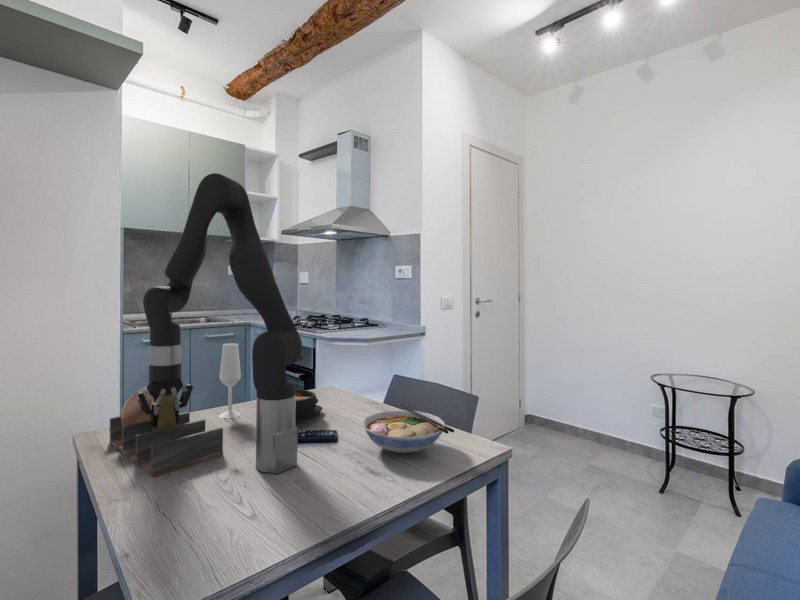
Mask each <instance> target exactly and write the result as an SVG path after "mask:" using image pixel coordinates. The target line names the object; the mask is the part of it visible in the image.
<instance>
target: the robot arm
mask: <svg viewBox="0 0 800 600" xmlns="http://www.w3.org/2000/svg"><path fill="white" fill-rule="evenodd" d="M217 213H218V214H221V215H222V217H223V218H224V220H225V223H226V226H227V228H228V230H229V233H230V237H231V238H230V240H231V241H230V247H229V248H230V249H229V253H228V255H229V257H228V261H229V266H230V270H231V273H232V275H233V279H234V281H235V284H236V287H237V288H238V290H239V292H240V293H241V294H242V295H243V297H245V299H246V300H247V301H248V302H249V304H251V305H252V307H253V308H254V309H255V310H256V311H257V312H258V314H259V316H261V318H262V320H263V322H264V325H265V328H266V331H263V332H261V333H259V334H258V335H257V336H256V338H255V339H254V341H253V344H252V351H251V352H252V354H251V357H252V359H251V361H252V362H251V365H252V380H253V386H254V388H255V390H256V409H255V413H256V415H255V416H256V417H255V419H256V420H255V468H256V470H257V471H259V472H262V473H269V474H276V475H277V474H279V473H282V472H284V471H287V470H290V469H292V468H295V467H297V466H298V434H299V433H298V431H299V430H298V427H296V425H295V415H296V390H297V385H296V383H295V382H294V381H292V380H289V379H287V371H286V367H287V366H291V365H293V364H296V363H297V362H299V360H300V359H301V357H302V355H303V349H304V348H303V341H302V338H301V336H300V334H299V331H298V329H297V328H296V326H295V323H294V321H293V320H292V317H291V316H290V313H289V311H288V310H287V307H286V305H285V302H284V299H283V297H282V294H281V292H280V289H279V287H278V284H277V281H276V279H275V276H274V273H273V270H272V266H271V264H270V261H269V258H268V255H267V254H266V251H265V249H264V246H263V243H262V239H261V237H260V235H259V232H258V230H257V229H258V228H257V227H256V223H255V220H254V216H253V211H252V207H251V202H250V200H249V196H248V193H247V191H246V189H245V187H244V186H243V185H242V184H240V183H239V182H237V181H236V180H233V179H231V178H230V177H227V176H225V175H224V174H221V173H217V172H211V173H208V174H206V175H205V176H204V177H203V178H202V179H201V180H200V183H199V184H198V186H197V189H196V192H195V193H194V197H193V200H192V203H191V206H190V209H189V212H188V216H187V219H186V222H185V224H184V228H183V231H182V234H181V236H180V239H179V241H178V244H177V246H176V248H175V250H174V251H173V253H172V254H171V257H170V258H169V261H168V263H167V265H166V267H165V269H164V274H165V277H166V278H168V279H169V283H168V285H166V286H165V285H164V286H163V285H162V286H160V285H159V286H157V285H156V286H155V285H154V286H152V287H150V288H149V289H147V290H146V292H145V294H144V296H143V301H142V302H143V303H142V305H143V310H144V314H145V318H146V320H147V324H148V327H149V328H148V329H149V332H150V333H149V351H148V360H147V362H148V385H147V386H146V387H147V389H146V390H143V391H141V392H137V391H135V392H136V393H135V392H134V393H135V396H136V398H137V400H138V403H139V405H140V407H141V409H142V412H144V413H146V414H150V415H151V423H150V424H151V426H152V427H156V428H157V424H158V417H159V415H157V414H158V413H159V409H160V407H159V406H160V402H159V401H160V400H161V399H162V397H164V395H167V394H171V395H173V396H174V395H175V396H174V397H175V398H176V399H175V404H174V411H175V418H176V424H177V422H178V421H179V414H180V410H181V409H183V408H186V406H187V405H188V403H189V399H190V397H191V394H192V392H193V389H194V385H192V384H189V383H183V381H182V366H183V365H182V361H183V360H182V346H181V344H182V343H181V342H182V341H181V336H182V335H181V334H182V332H181V331H182V330H181V325H180V324H179V323H178V322H175V321H172V318H171V313H177V312H179V311H181V310H183V308H185V306H186V305H187V303H188V301H189V299H190V296H191V293H192V292H191V291H192V288H193V287H192V286H193V282H194V279H195V277H196V276H197V274H198V271H199V270H200V268H201V266H202V264H203V262H204V261H205V260H204V259H205V257H206V253H207V235H208V230H209V226H210V224H211V221H212V220H213V219H214V217H215V216H216V214H217ZM180 391H182V392H181V395H180V398H179V397H178V394H179V392H180ZM148 393H149V394H150V395H151V396H152V397H153V398H152V402H151V404H152V405H151V409H150V408H149V405H148V403H147V401H146V399H147V397H148V396H147V395H148ZM154 399H156V400H157V402H154Z"/></svg>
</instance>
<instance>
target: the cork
mask: <svg viewBox="0 0 800 600" xmlns="http://www.w3.org/2000/svg"><path fill="white" fill-rule="evenodd" d="M174 396H175V395H174ZM174 396H173V395H171V394H167V395H164V397H162V399H161V400H160V401H159V402H160V406H159V407H160V409H159V413H158V414H157V415H159V417H158V424H157V428H156V427H153V430H152V431H155V430H159V429H164V428H168V427H172V426H176V425H177V424H176V418H175V411H174V404H175V399H176V398H175V397H174ZM154 402H157V400H156V399H154Z"/></svg>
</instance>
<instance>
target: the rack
mask: <svg viewBox="0 0 800 600" xmlns="http://www.w3.org/2000/svg"><path fill="white" fill-rule="evenodd" d="M146 389H147V386H146V387H143V388H141V389H139V390H137V391H135V392H133V394H131V395H130V396H129V398H128V399H126V401H125V403H124V404H123V407H122V410H121V413H120V415H119V416H113V417H110V418H109V444H110V443H111V444H112V445H113V447H114V448H115V449H116V448H117V449H116V450H117V451H119V452H120V451H121V452H122V455H124V456H125V457H127V458H128V459H129V460H130V459H131V462H133V463H134V464H136V465H137V466H138V467H139V468H141V469H142V470H143V471H145V472H146V473H147V474H148V475H149V476H151V477H153V478H154V477H159V476H160V475H164V474H167V473H171V472H175V471H177V470H181V469H183V468H186V467H190V466H192V465H196V464H199V463H202V462H205V461H209V460H212V459H215V458H219V457H222V456H223V455H224V450H223V449H224V428H223V427H222V426H220V427H216V428H213V429H209V430H206V419H205V418H202V419H197V420H194V421H190V416H191V415H190V414H191V413H190V412H191V411H185V412H182V413H180V412H179V421H178V422H177V425H176V426H172V427H168V428H164V429H159V430H155V431H152V430H153V427H152V426H151V424H150V423H151V415H150V414H146V413H144V412H142V409H141V407H140V405H139V403H138V400H137V398H136V396H135V393H136V392H141V391H143V390H146ZM147 396H148V397H147V399H146V401H147V403H148V405H149V408H150V409H151V405H152V404H151V402H152V398H153V397H152V396H151V395H150V394H149V393H148V395H147ZM111 444H110V445H111ZM112 445H111V446H112ZM121 452H120V453H121Z"/></svg>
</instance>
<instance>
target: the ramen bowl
mask: <svg viewBox="0 0 800 600" xmlns="http://www.w3.org/2000/svg"><path fill="white" fill-rule="evenodd" d="M402 408H403V409H395V410H384V411H379V412H374V413H372V414H370V415H368V416H366V417H364V418H363V420H362V421H361V424H362V426H363V428H364V430H365V432H366V434H367V435H368V437H369V439H370V440H371V441H372V442H373V444H375V445H377V446H378V447H381V448H382V449H384V450H386V451H389V452H390V451H391V452H393V453H394V452H396V453H395V454H399V453H403V454H402V455H406V454H405V453H408V454H411V453H412V452H413V453H416V452H420V451H422V450H425V449H427V448H429V447H431V446H432V445H433V444H434V443H435V442H436V441H437V440H438V439H439V438H440V436H441V435H442V434H443V433H445V434H447V435H448V434H449V432H451V433H454V432H455V429H453V428H451V427H449V426H447V425H445V424H446V423H445V421H444V420H442V418H440V417H439V416H437V415H434V414H431V413H429V412H422V411H418V410H412V409H411V408H408V407H406V406H405V405H404V406H402ZM413 453H412V454H413Z"/></svg>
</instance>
